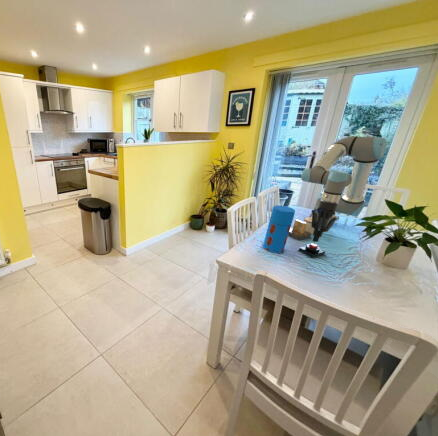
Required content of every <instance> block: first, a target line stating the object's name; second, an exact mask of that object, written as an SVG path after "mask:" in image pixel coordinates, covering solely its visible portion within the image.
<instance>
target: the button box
mask: <svg viewBox="0 0 438 436" xmlns="http://www.w3.org/2000/svg"><path fill="white" fill-rule="evenodd" d="M309 246H310V243H307V244H306V245H305V246H300V247H299V248H298V252H299V253H302V254H304V255H306V256H307V257H309V258H311V259H313V258H317V257H321V256H325V254H326V251H324V250H323V249H321V247H320V246H318V247H317V249H314V248H311V247H309Z"/></svg>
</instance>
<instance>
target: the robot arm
mask: <svg viewBox="0 0 438 436" xmlns="http://www.w3.org/2000/svg"><path fill="white" fill-rule="evenodd" d="M387 143H388V142H387V139H386V138H385V137H378V136H358V135H357V136H356V135H355V136H354V135H351V136H346V137H343V138H341V139H338V140H336V141H335V142H333V143H332V144H331V145H329V147H328V148H327V150H326V152H325V153H324V154H323V156H321V158H320V159H319V160H318V161H317V162H316V163H315V165H314V166H313V167H309V168H308V167H307V168H304V169H303V170H302V172H301V175H300V180H301V181H303V182H305V183H309V184H310V183H311V184H316V185H317V184H318V185H321V186H322V185H323V186H325V187H324V188H323V191H321V192H320V193H319V194H318V195H317V197H316V202H315V204H314V205H315V206H314V208H313V209H311V213H310V214H309V216H308V217H307V218H309V217H312V228H314V233H313V235H312V236H313V238H312V242H313V243H317V242H319V240H320V239H321V237H322V236H323V234H324V233H327V232H329V231H330V229H331V228H332V226H333V225H334V224H335V223H336V222H337V221H338V220H339V219H340V217H339V216H337V215H336V213H338V214H343V215H346V216H349V217H350V216H351V217H358V216H359V215H360V214H361V212H362V211H363V210H364V207H365V206H366V204H367V200H365V196H363V195H364V192H365V189H366V187H367V183H368V180H369V178H370V175H371V172H372V168H373V166H374V164H375V163H378V161H379V160H381V159H383V157H384V156H385V152H386V150H387V145H388V144H387ZM344 156H345V157H346V156H347V157H352V161H353V162H354V164H353V167H352V171H351V174H350V173H349V172H348V171H343V170H331V171H330V169H331V168H332V167H333V166H334V165H335V164H336V162H337V161H338V160H339V159H341V158H343V157H344ZM345 188H346V192H345V193H344V194H343V192H344V189H345Z"/></svg>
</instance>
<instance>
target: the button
mask: <svg viewBox="0 0 438 436" xmlns="http://www.w3.org/2000/svg"><path fill="white" fill-rule="evenodd" d="M309 244H310V246H309V247H311V248H314V249H317V247H319V245H318V244H317V243H315V242H312V243H309Z"/></svg>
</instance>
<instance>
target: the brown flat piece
mask: <svg viewBox="0 0 438 436" xmlns="http://www.w3.org/2000/svg"><path fill="white" fill-rule="evenodd" d="M311 234H312V233H309V232H307V231H305V232H304V233H303V234H301V233H299V232H297V231H295V230H293V227H290V231H289V234H288V237H290V238H292V239H294V240H297V241H300V240H304V239H305V240H306V239H311V236H312V235H311Z"/></svg>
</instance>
